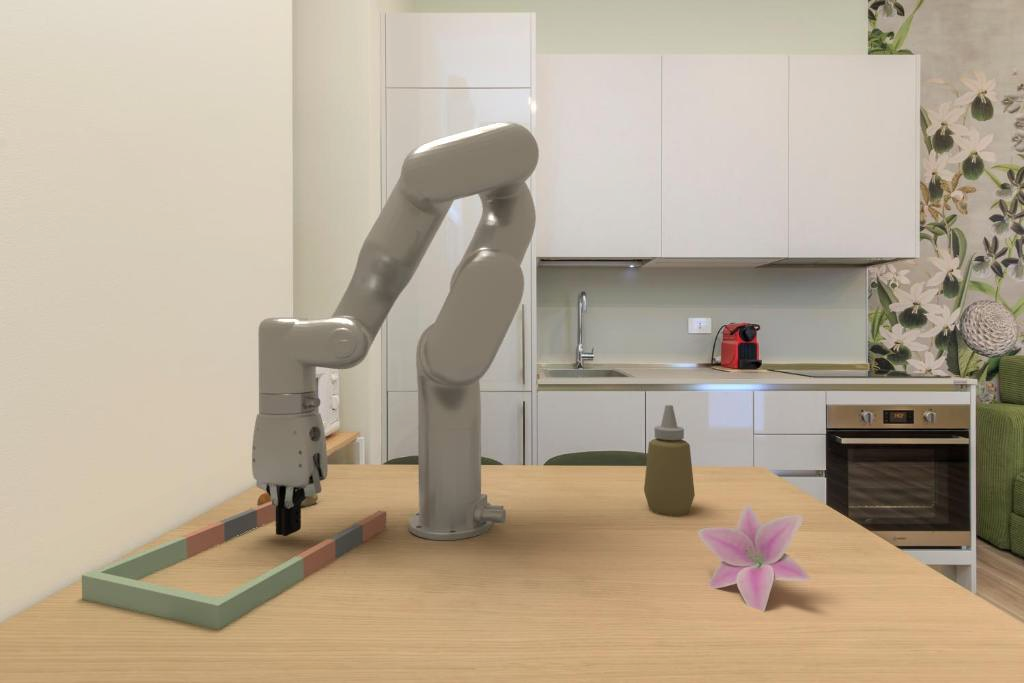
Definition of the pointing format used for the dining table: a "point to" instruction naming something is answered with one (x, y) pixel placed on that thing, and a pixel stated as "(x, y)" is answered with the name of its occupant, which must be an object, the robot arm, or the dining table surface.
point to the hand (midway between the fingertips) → (288, 532)
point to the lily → (754, 555)
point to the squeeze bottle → (669, 469)
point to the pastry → (308, 500)
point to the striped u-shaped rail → (122, 576)
